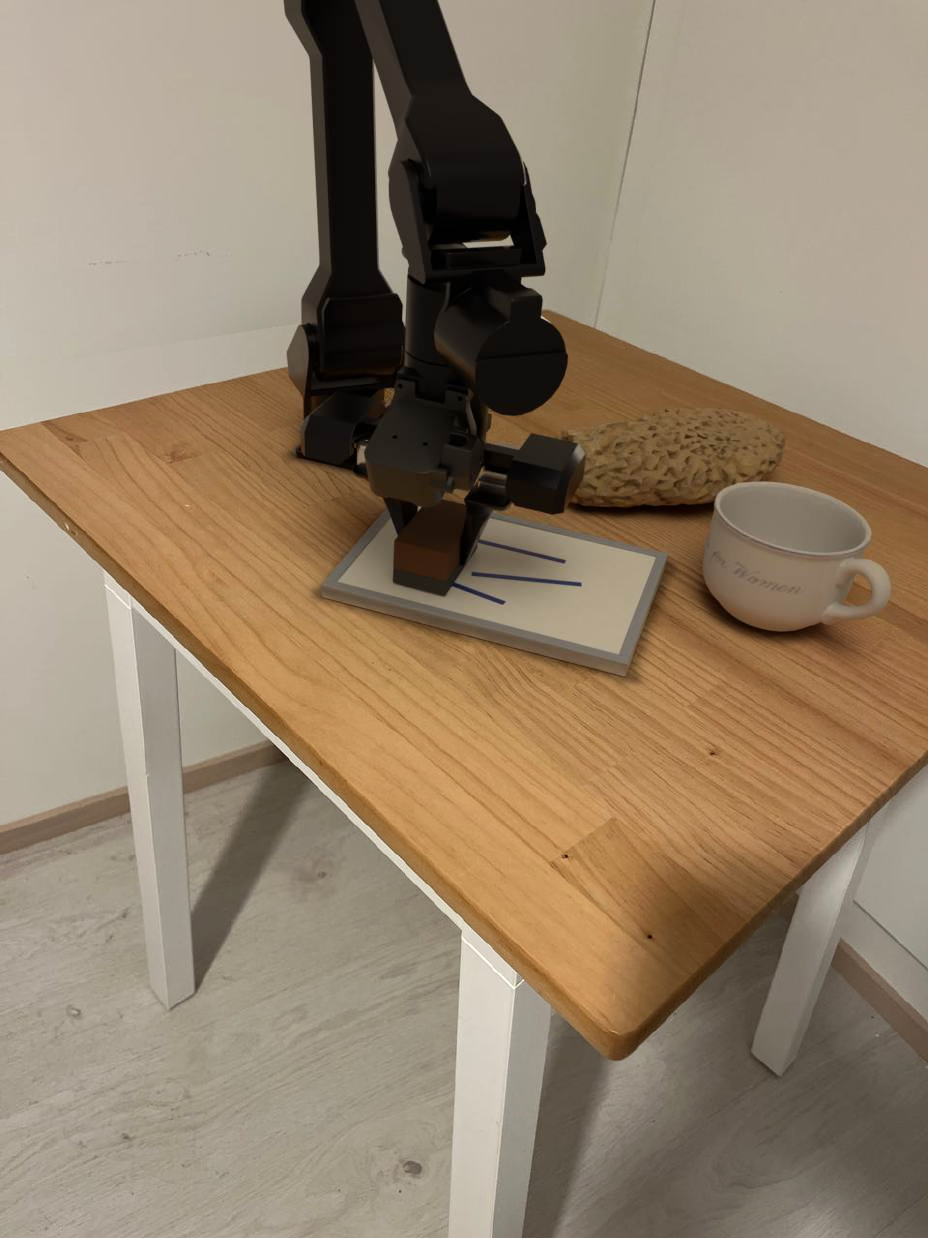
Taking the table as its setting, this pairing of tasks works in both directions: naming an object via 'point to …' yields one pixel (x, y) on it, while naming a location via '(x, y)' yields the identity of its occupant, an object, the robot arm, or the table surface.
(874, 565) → the teacup
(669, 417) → the sponge
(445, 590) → the eraser
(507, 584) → the whiteboard
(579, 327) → the table surface
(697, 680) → the table surface
